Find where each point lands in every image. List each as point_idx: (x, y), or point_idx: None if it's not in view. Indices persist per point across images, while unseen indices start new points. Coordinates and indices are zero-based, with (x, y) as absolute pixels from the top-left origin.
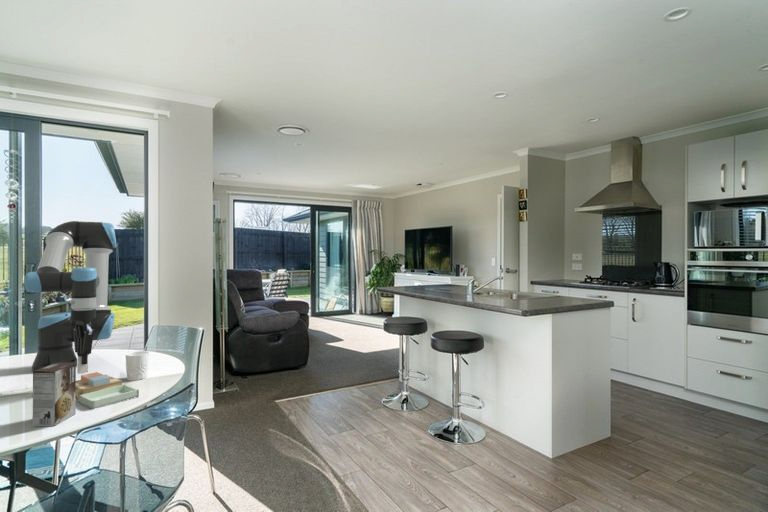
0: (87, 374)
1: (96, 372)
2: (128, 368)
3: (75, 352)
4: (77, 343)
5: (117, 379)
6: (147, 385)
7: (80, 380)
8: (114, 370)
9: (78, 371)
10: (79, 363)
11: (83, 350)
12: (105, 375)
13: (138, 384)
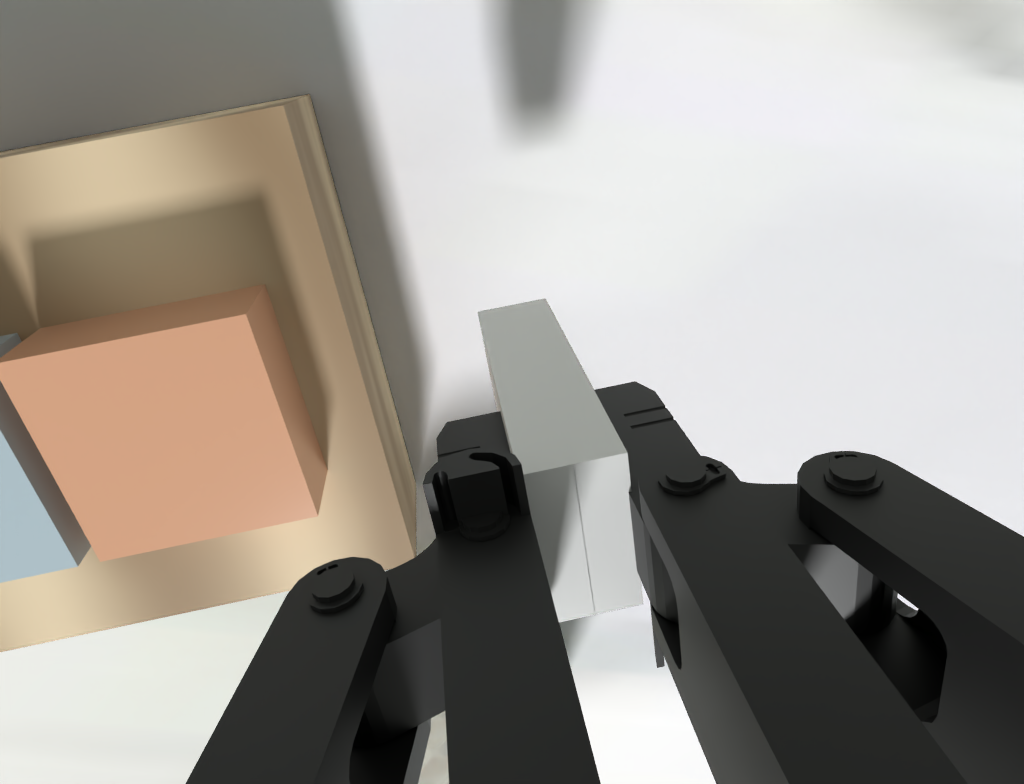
0: (242, 399)
1: (291, 509)
2: (432, 770)
3: (840, 451)
4: (883, 722)
5: (49, 634)
6: (136, 747)
7: (293, 283)
8: (915, 609)
9: (510, 318)
10: (497, 390)
11: (267, 681)
12: (11, 579)
13: (226, 700)
